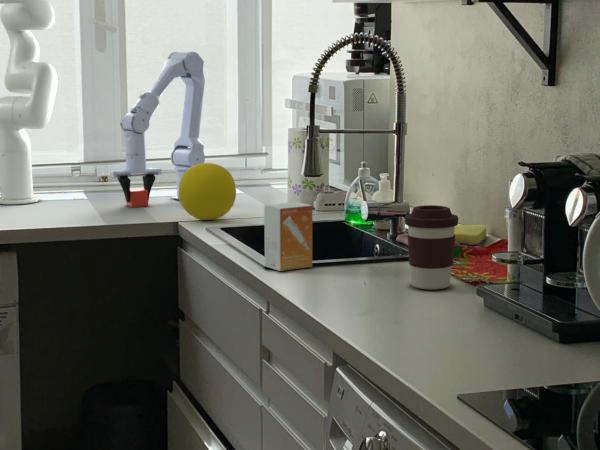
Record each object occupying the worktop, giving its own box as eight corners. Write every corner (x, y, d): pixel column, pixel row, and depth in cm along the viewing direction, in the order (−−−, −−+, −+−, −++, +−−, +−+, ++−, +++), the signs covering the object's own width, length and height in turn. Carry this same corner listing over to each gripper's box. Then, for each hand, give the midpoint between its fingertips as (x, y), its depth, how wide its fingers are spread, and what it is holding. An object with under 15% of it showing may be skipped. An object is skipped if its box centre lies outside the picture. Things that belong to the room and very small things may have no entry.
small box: (280, 271, 212) (279, 208, 209) (264, 266, 217) (263, 204, 215) (313, 267, 216) (313, 204, 214) (296, 262, 221) (296, 201, 219)
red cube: (148, 206, 304) (147, 190, 303) (131, 207, 302) (131, 191, 301) (142, 203, 308) (142, 188, 308) (126, 205, 306) (126, 189, 305)
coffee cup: (400, 280, 202) (400, 204, 200) (450, 279, 203) (451, 203, 201) (409, 292, 193) (410, 212, 190) (462, 291, 193) (463, 211, 191)
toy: (226, 213, 288) (225, 159, 285) (243, 221, 274) (242, 164, 271) (173, 217, 282) (171, 161, 280) (187, 225, 268) (186, 167, 266)
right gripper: (155, 152, 309) (156, 197, 311) (107, 154, 303) (109, 201, 305) (163, 154, 303) (164, 200, 305) (114, 156, 297) (116, 204, 299)
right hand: (137, 200), depth 305 cm, fingers closed on red cube, 5 cm apart
